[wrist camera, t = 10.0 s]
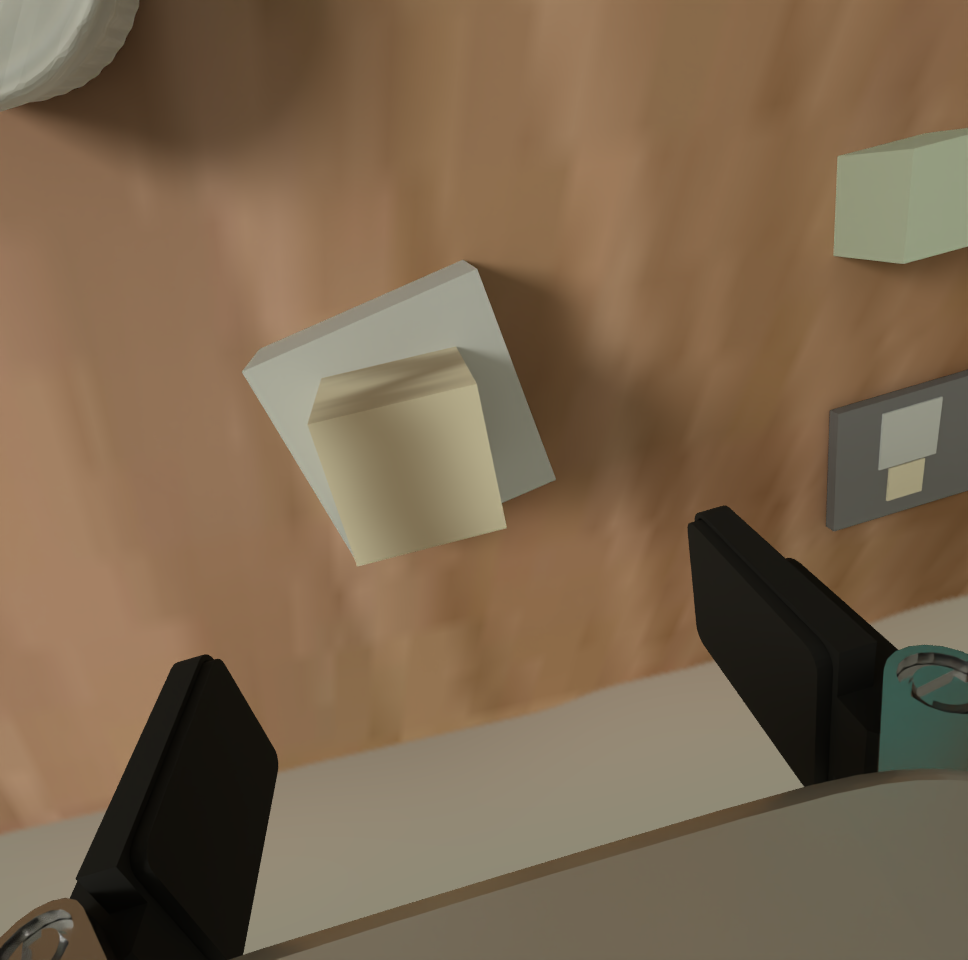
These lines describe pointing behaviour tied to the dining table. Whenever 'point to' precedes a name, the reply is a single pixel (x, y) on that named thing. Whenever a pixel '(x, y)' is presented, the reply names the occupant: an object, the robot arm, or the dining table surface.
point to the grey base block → (394, 336)
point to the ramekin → (57, 45)
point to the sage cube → (903, 199)
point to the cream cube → (406, 455)
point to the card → (897, 451)
